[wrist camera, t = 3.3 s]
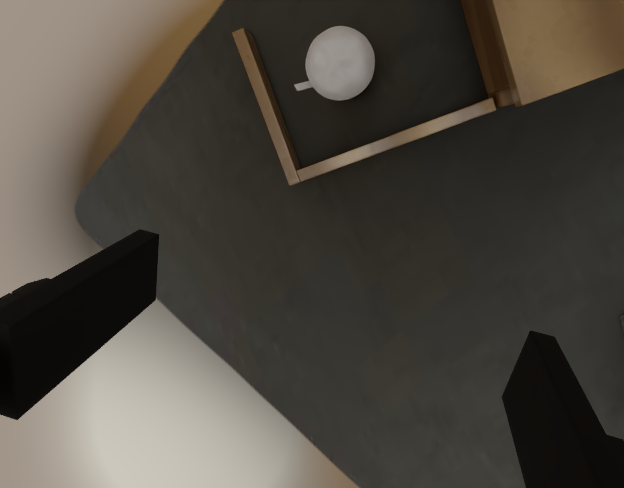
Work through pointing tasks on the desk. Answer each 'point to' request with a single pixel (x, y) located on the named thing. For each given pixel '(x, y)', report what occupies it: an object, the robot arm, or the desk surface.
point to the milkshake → (339, 64)
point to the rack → (483, 67)
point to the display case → (622, 321)
